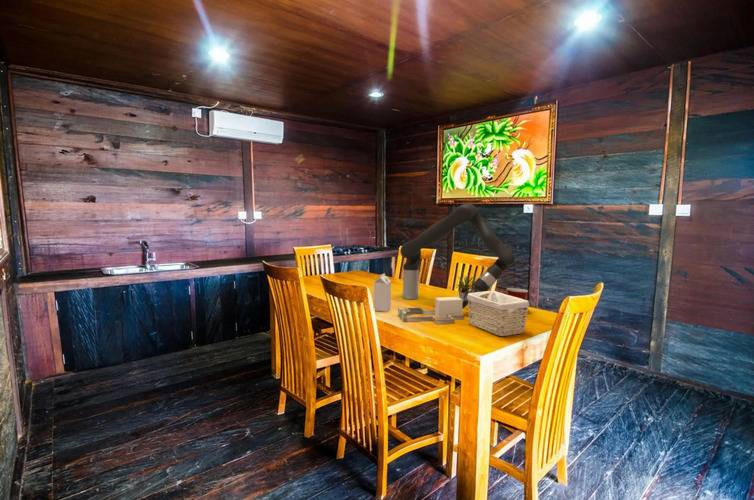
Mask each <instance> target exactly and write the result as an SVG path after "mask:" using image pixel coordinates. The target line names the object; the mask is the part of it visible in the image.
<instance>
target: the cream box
mask: <svg viewBox="0 0 754 500" xmlns="http://www.w3.org/2000/svg"><path fill="white" fill-rule="evenodd" d="M434 301H435V303H434V310H435V314H434V317H436V318H437V319H447V315H459V314H463V309H462V303H463V300H462V299H461V298H459V296H450V297H447V296H446V297H435V299H434Z"/></svg>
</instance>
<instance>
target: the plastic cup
mask: <svg viewBox="0 0 754 500" xmlns="http://www.w3.org/2000/svg"><path fill="white" fill-rule="evenodd" d="M506 291H507V295H509V296H513V297H517V298H520V299H523V300H526V298H527V294H528V293H529V290H527V289H522V288H515V287H507V288H506Z"/></svg>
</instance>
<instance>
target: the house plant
mask: <svg viewBox="0 0 754 500" xmlns="http://www.w3.org/2000/svg"><path fill="white" fill-rule="evenodd" d="M457 277H458V280H459V281H458V284H457V283H456V284H455V285H456V288H457V289H459V290H458V297H459V298H461V299H462V300H463V301H464V298H463V297H464V295H465V292H466V290H468V291H470V290H471V289H472V288H473V283H474V282H475V281H476V280H477V278H476V277H477V276H476V275H475V276H472V277H470V278H468V276H467V275H462V277H463V279H464V282H463V279H462V278H461V277H460V276H457Z"/></svg>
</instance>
